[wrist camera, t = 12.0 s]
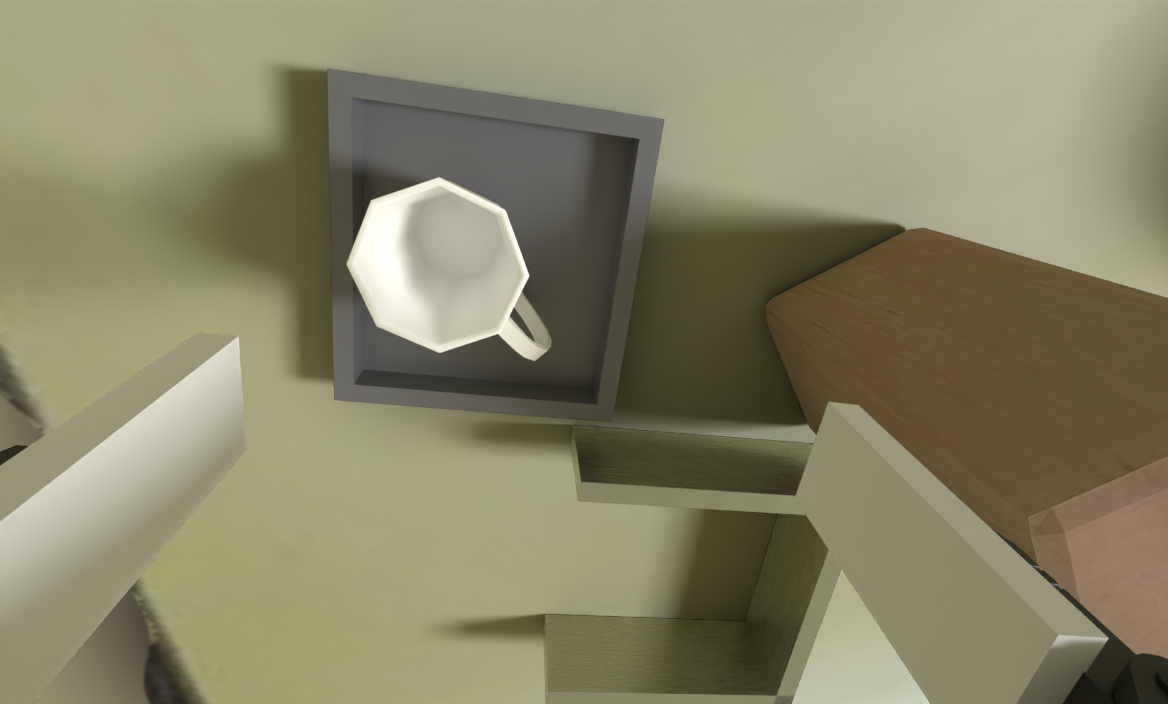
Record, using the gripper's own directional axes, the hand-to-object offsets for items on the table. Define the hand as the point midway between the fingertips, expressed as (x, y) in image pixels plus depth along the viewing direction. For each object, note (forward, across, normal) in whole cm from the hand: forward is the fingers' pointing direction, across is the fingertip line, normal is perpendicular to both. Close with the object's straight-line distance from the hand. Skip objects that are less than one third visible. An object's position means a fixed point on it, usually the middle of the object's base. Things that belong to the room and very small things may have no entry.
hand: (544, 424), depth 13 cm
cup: (+19, -3, -1) cm, 20 cm away
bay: (+20, +12, -19) cm, 30 cm away
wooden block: (+20, +20, -3) cm, 28 cm away
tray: (+20, -2, -1) cm, 20 cm away
